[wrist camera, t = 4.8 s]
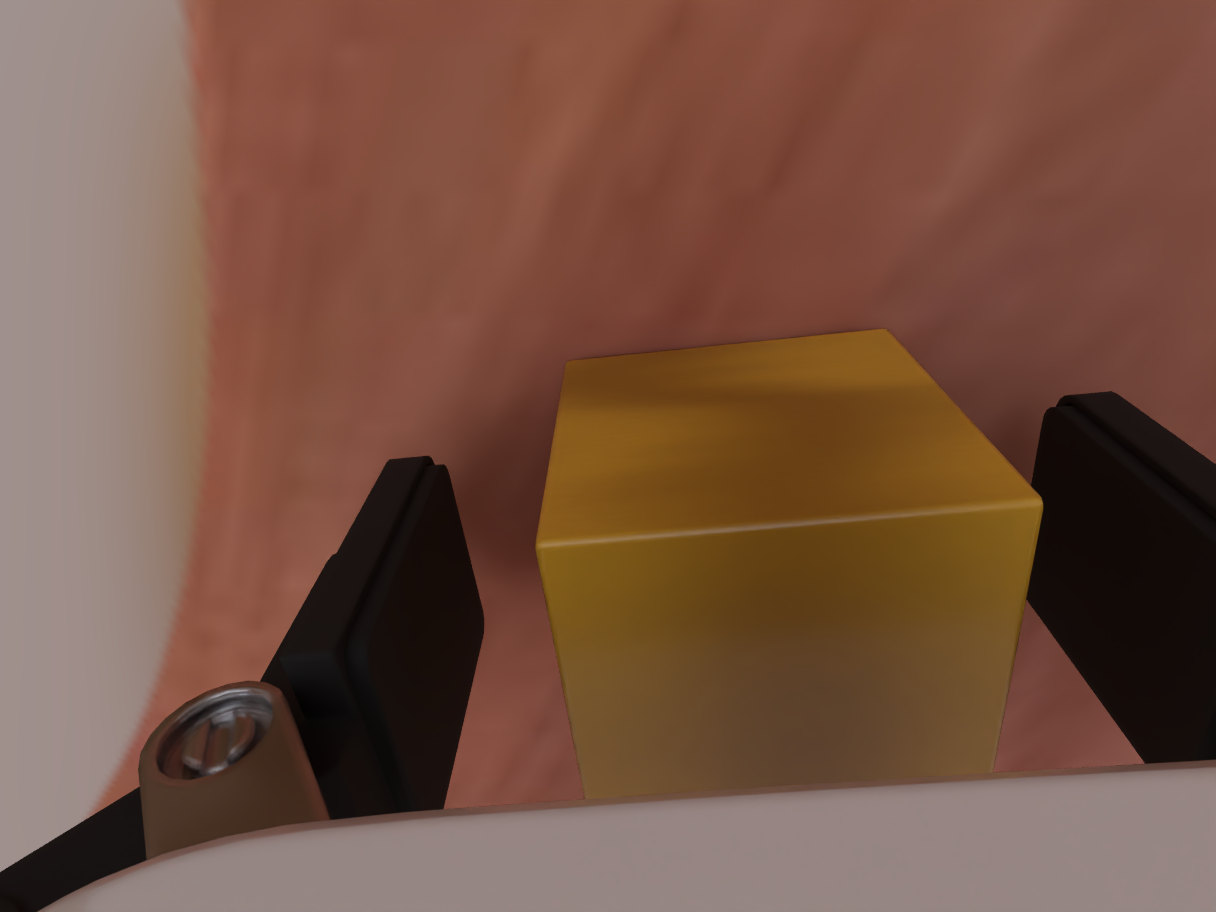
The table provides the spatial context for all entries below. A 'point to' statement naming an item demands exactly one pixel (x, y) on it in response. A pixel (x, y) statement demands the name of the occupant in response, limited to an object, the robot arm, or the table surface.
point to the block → (779, 568)
